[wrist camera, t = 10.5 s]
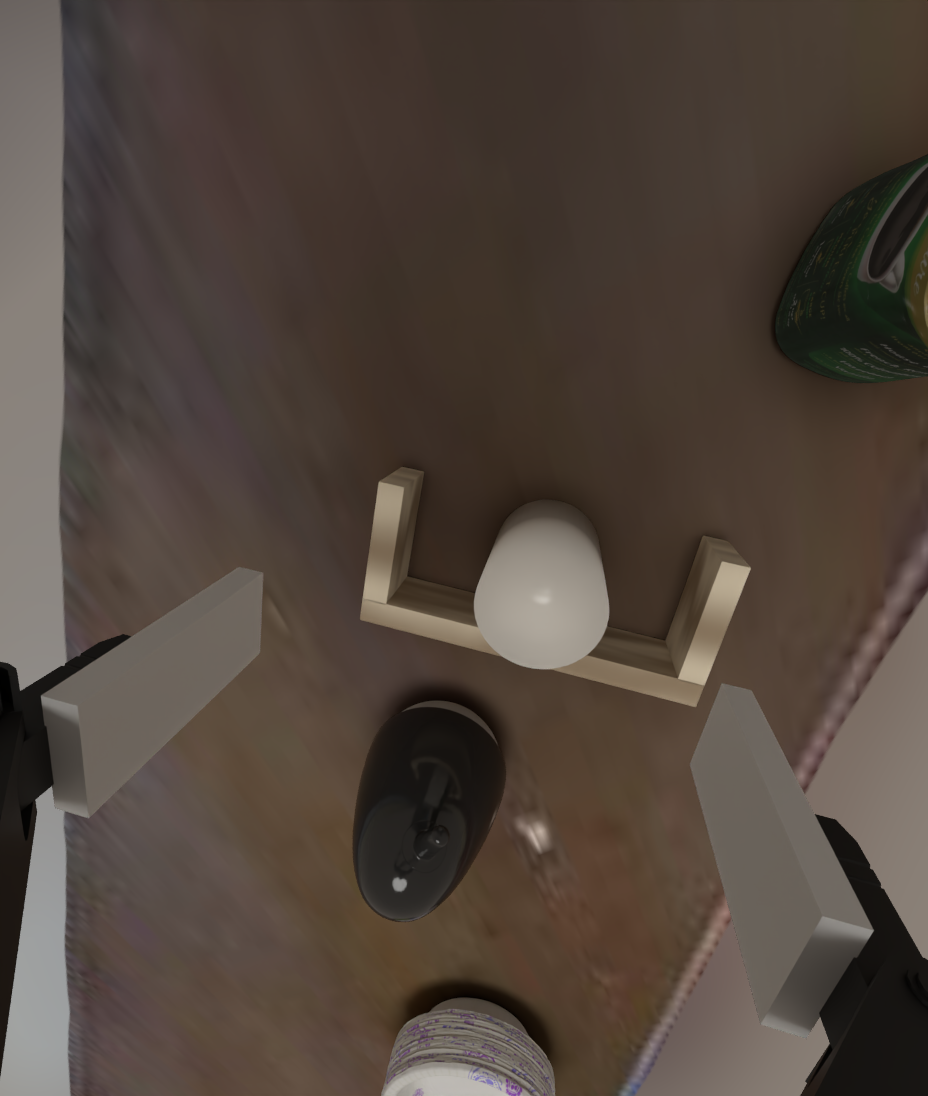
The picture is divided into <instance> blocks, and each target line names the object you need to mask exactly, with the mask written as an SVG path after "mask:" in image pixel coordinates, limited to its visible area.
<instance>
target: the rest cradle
mask: <svg viewBox="0 0 928 1096" xmlns="http://www.w3.org/2000/svg"><path fill="white" fill-rule="evenodd" d="M423 478H424V472H423V471H419V470H415V469H410V468H406V467H401V468H399V469H398V470H396V471H395V472H393V473H391V474H390V475H388V476H387V477H385V478H384V479H382V480H381V481H379V485H378V492H377V499H376V506H375V514H374V521H373V528H372V535H371V543H370V550H369V557H368V564H367V572H366V579H365V586H364V593H363V601H362V608H361V615H360V620H363V621H367V622H371V623H375V624H379V625H383V626H386V627H390V628H394V629H398V630H402V631H406V632H409V633H413V634H417V635H421V636H425V637H429V638H432V639H436V640H440V641H444V642H448V643H452V644H456V645H459V646H463V647H467V648H471V649H475V650H479V651H482V652H486V653H490V654H494V655H498V656H501V655H500V654H498V653H497V652H496V651H495V650H494V649H493V648H492V647H491V646H490V645H489V644H488V643H487V641H486V640H485V639H484V637H483V636H482V634H481V632H480V630H479V628H478V625H477V622H476V619H475V613H474V598H475V593H472V592H468V591H464V590H460V589H456V588H452V587H448V586H444V585H440V584H436V583H432V582H428V581H424V580H420V579H416V578H412V577H408V576H407V574H408V568H409V562H410V556H411V550H412V544H413V538H414V532H415V526H416V520H417V514H418V508H419V502H420V496H421V490H422V484H423ZM750 569H751V567H750V566H749V565H748V564H747V563H746V562H745V560H744V559H743V558H742V557H741V556H740V555H739V553H738V552H737V551H736V550H735V549H734V548H733V546H732V545H731V544H730V543H729V542H728V541H725V540H721V539H717V538H712V537H708V536H704V535H703V536H702V539H701V542H700V545H699V548H698V551H697V553H696V556H695V559H694V562H693V565H692V567H691V570H690V573H689V576H688V579H687V581H686V584H685V587H684V590H683V593H682V595H681V598H680V601H679V604H678V607H677V610H676V612H675V615H674V618H673V621H672V624H671V626H670V629H669V632H668V635H667V638H666V640H661V639H657V638H653V637H649V636H645V635H641V634H637V633H633V632H629V631H625V630H621V629H617V628H613V627H609V626H607V627H606V630H605V632H604V635H603V636H602V638H601V640H600V641H599V643H598V644H597V645H596V647H595V648H594V649H593V650H592V651H591V652H590V653H589V654H587V655H586V656H585V657H583V658H582V659H580V660H578V661H576V662H574V663H572V664H570V665H567V666H563V667H560V668H554V669H552V670H555V671H559V672H563V673H567V674H571V675H575V676H578V677H582V678H586V679H590V680H594V681H598V682H601V683H605V684H609V685H613V686H617V687H621V688H624V689H628V690H632V691H636V692H640V693H644V694H648V695H651V696H655V697H659V698H663V699H667V700H671V701H674V702H678V703H682V704H686V705H690V706H694V707H696V705H697V703H698V700H699V698H700V695H701V693H702V690H703V688H704V685H705V683H706V680H707V678H708V675H709V673H710V670H711V668H712V665H713V663H714V660H715V658H716V655H717V652H718V650H719V647H720V645H721V642H722V640H723V637H724V635H725V632H726V630H727V627H728V625H729V622H730V620H731V617H732V615H733V612H734V610H735V607H736V604H737V602H738V599H739V597H740V594H741V592H742V589H743V587H744V584H745V582H746V579H747V577H748V574H749V572H750Z"/></svg>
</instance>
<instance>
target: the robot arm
mask: <svg viewBox="0 0 928 1096" xmlns="http://www.w3.org/2000/svg"><path fill="white" fill-rule="evenodd" d="M262 591H263V573H262V572H258V571H254V570H250V569H246V568H242V567H238V568H237V569H235V570H234V571H232V572H230V573H229V574H227V575H226V576H224V577H223V578H221V579H220V580H218V581H217V582H215V583H214V584H212V585H210V586H209V587H207V588H206V589H204V590H203V591H201V592H200V593H198V594H197V595H195V596H193V597H192V598H190V599H189V600H187V601H186V602H184V603H183V604H181V605H180V606H178V607H177V608H175V609H173V610H172V611H170V612H169V613H167V614H166V615H164V616H163V617H161V618H160V619H158V620H157V621H155V622H153V623H152V624H150V625H149V626H147V627H146V628H144V629H143V630H141V631H140V632H138V633H137V634H135V635H133V636H128V635H124V634H122V635H120V636H117V637H114V638H111V639H108V640H105V641H102V642H99V643H98V644H96V645H94V646H93V647H91V648H89V649H88V650H86V651H85V652H83V653H81V655H80V657H78V656H76V657H75V658H73V659H72V660H70V661H68V662H67V663H65V666H60V667H59V668H57V669H55V670H54V671H52V672H51V673H49V674H47V675H46V676H44V677H43V678H41V679H39V680H38V681H36V682H34V683H33V684H31V685H30V686H28V687H26V688H25V689H23V690H21V691H20V689H19V682H18V675H17V670H16V668H15V667H13V666H12V665H10V664H8V663H3V662H0V1075H1V1068H2V1060H3V1053H4V1046H5V1039H6V1032H7V1024H8V1017H9V1010H10V1003H11V995H12V989H13V981H14V973H15V967H16V959H17V952H18V945H19V938H20V931H21V924H22V916H23V909H24V902H25V895H26V888H27V881H28V873H29V866H30V859H31V852H32V845H33V837H34V830H35V823H36V816H37V809H36V801H35V799H37V798H38V797H39V796H40V795H41V794H42V793H44V792H45V791H46V790H47V789H48V788H50V787H51V786H52V788H53V796H54V804H55V808H57V809H60V810H63V811H67V812H70V813H73V814H76V815H80V816H83V817H86V818H89V817H91V816H92V815H93V814H94V813H95V812H96V811H97V810H98V809H99V808H100V807H101V806H102V805H103V804H104V803H105V802H106V801H107V800H108V799H109V798H110V797H111V796H112V795H113V794H114V793H115V792H116V791H117V790H118V789H120V788H121V787H122V786H123V785H124V784H125V783H126V782H127V781H128V780H129V779H130V778H131V777H132V776H133V775H134V774H135V773H136V772H137V771H138V770H139V769H140V768H141V767H142V766H143V765H144V764H145V763H146V762H148V761H149V760H150V759H151V758H152V757H153V756H154V755H155V754H156V753H157V752H158V751H159V750H160V749H161V748H162V747H163V746H164V745H165V744H166V743H167V742H168V741H169V740H170V739H171V738H172V737H173V736H174V735H176V734H177V733H178V732H179V731H180V730H181V729H182V728H183V727H184V726H185V725H186V724H187V723H188V722H189V721H190V720H191V719H192V718H193V717H194V716H195V715H196V714H197V713H198V712H199V711H200V710H201V709H202V708H204V707H205V706H206V705H207V704H208V703H209V702H210V701H211V700H212V699H213V698H214V697H215V696H216V695H217V694H218V693H219V692H220V691H221V690H222V689H223V688H224V687H225V686H226V685H227V684H228V683H229V682H230V681H231V680H233V679H234V678H235V677H236V676H237V675H238V674H239V673H240V672H241V671H242V670H243V669H244V668H245V667H246V666H247V665H248V664H249V663H250V662H251V661H252V660H253V659H254V658H255V657H256V656H257V655H258V654H259V653H260V640H261V615H262ZM690 767H691V771H692V774H693V778H694V782H695V785H696V789H697V793H698V796H699V800H700V804H701V807H702V811H703V815H704V818H705V822H706V826H707V829H708V833H709V837H710V840H711V844H712V848H713V852H714V855H715V859H716V863H717V866H718V870H719V874H720V877H721V881H722V885H723V888H724V892H725V896H726V899H727V903H728V907H729V910H730V914H731V918H732V921H733V925H734V929H735V933H736V936H737V940H738V943H739V947H740V951H741V955H742V958H743V962H744V966H745V969H746V973H747V976H748V980H749V984H750V987H751V991H752V995H753V999H754V1002H755V1006H756V1010H757V1013H758V1017H759V1021H760V1024H761V1025H764V1026H767V1027H770V1028H774V1029H777V1030H780V1031H783V1032H787V1033H790V1034H793V1035H796V1036H800V1037H803V1038H807V1036H808V1035H809V1033H810V1032H811V1030H812V1028H813V1027H814V1025H815V1024H816V1022H817V1020H818V1019H819V1017H821V1020H822V1023H823V1026H824V1028H825V1031H826V1034H827V1036H828V1039H829V1042H830V1044H829V1046H828V1047H827V1049H826V1050H825V1052H824V1053H823V1055H822V1056H821V1058H820V1060H819V1061H818V1062H817V1064H816V1066H815V1067H814V1069H813V1070H812V1072H811V1073H810V1075H809V1076H808V1078H807V1079H806V1082H807V1084H806V1086H805V1088H804V1090H803V1092H802V1094H801V1096H928V960H927V959H925V958H923V957H922V956H921V954H920V952H919V950H918V949H917V947H916V945H915V943H914V941H913V940H912V938H911V936H910V934H909V933H908V931H907V929H906V927H905V926H904V924H903V922H902V920H901V918H900V917H899V915H898V913H897V912H896V910H895V908H894V906H893V905H892V903H891V901H890V899H889V897H888V896H887V894H886V892H885V890H884V889H882V888H881V883H880V881H879V880H878V878H877V876H876V874H875V873H874V871H873V870H872V869H870V864H869V862H868V860H867V859H866V857H865V855H864V853H863V852H862V850H861V848H860V846H859V845H858V843H857V842H856V840H855V839H854V838H853V837H852V836H851V835H850V834H849V833H848V832H847V831H846V830H845V829H844V828H843V827H842V826H841V825H840V824H839V823H838V822H837V820H835V819H831V818H827V817H824V816H820V815H816V814H814V812H813V810H812V809H811V806H810V805H809V802H808V800H807V798H806V796H805V794H804V793H803V791H802V789H801V787H800V785H799V783H798V781H797V779H796V777H795V775H794V773H793V771H792V769H791V767H790V765H789V763H788V761H787V759H786V757H785V755H784V753H783V751H782V749H781V747H780V745H779V743H778V742H777V740H776V738H775V736H774V734H773V732H772V730H771V728H770V726H769V724H768V722H767V720H766V718H765V716H764V714H763V712H762V710H761V708H760V706H759V704H758V702H757V700H756V698H755V696H754V694H753V693H752V691H751V690H748V689H744V688H739V687H735V686H731V685H727V684H723V683H722V684H721V686H720V689H719V692H718V694H717V697H716V699H715V702H714V704H713V707H712V709H711V712H710V714H709V717H708V719H707V722H706V725H705V727H704V730H703V732H702V735H701V737H700V740H699V742H698V745H697V747H696V750H695V752H694V755H693V758H692V760H691V763H690Z"/></svg>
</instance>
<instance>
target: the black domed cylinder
mask: <svg viewBox="0 0 928 1096" xmlns="http://www.w3.org/2000/svg"><path fill="white" fill-rule="evenodd" d="M505 781H506V767H505V762H504V758H503V755H502V753H501V751H500V749H499V747H498V744H497V741H496V739H495V737H494V735H493V733H492V731H491V730H490V728H489V727H488V726H487V724H486V723H485V722H484V721H483V720H482V719H481V718H480V717H479V716H478V715H476V714H475V713H474V712H472V711H471V710H469V709H467V708H465V707H463V706H461V705H459V704H456V703H452V702H447V701H427V702H422V703H418V704H416V705H413V706H411V707H409V708H407V709H405V710H404V711H402V712H401V713H398V714H397V715H395V716H393V717H392V718H390V719H389V720H388V721H387V722H386V723H385V724H384V725H383V726H382V727H381V728H380V729H379V731H378V732H377V734H376V736H375V738H374V740H373V742H372V744H371V746H370V749H369V752H368V755H367V758H366V761H365V765H364V768H363V772H362V775H361V779H360V784H359V789H358V794H357V800H356V807H355V815H354V825H353V843H352V845H353V864H354V871H355V876H356V880H357V884H358V887H359V890H360V893H361V895H362V897H363V899H364V900H365V902H366V903H367V905H368V906H369V907H370V908H371V909H372V910H373V911H374V912H375V913H377V914H378V915H380V916H381V917H383V918H385V919H388V920H391V921H395V922H410V921H414V920H417V919H420V918H422V917H424V916H426V915H427V914H429V913H430V912H432V911H433V910H434V909H436V908H437V907H438V906H439V905H440V904H442V903H443V902H444V901H445V900H446V899H447V898H448V897H449V896H450V894H451V893H452V892H453V891H454V890H455V889H456V887H457V886H458V885H459V883H460V882H461V881H462V879H463V878H464V876H465V875H466V873H467V872H468V870H469V868H470V867H471V865H472V863H473V862H474V860H475V858H476V857H477V855H478V853H479V851H480V849H481V848H482V846H483V844H484V842H485V840H486V838H487V836H488V834H489V832H490V829H491V827H492V825H493V822H494V820H495V817H496V814H497V812H498V809H499V806H500V803H501V800H502V797H503V793H504V788H505Z"/></svg>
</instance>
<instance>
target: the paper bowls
mask: <svg viewBox="0 0 928 1096" xmlns="http://www.w3.org/2000/svg"><path fill="white" fill-rule="evenodd" d="M554 1086H555V1080H554V1073H553V1069H552V1066H551V1064H550V1062H549V1060H548V1059H547V1056H546V1055H545V1053H544V1052H543V1051H542V1050H541V1048H540V1047H539V1046H538V1045H537V1044H536V1043H535V1041H533V1040H532V1039H531V1038H530V1037H529V1036H528V1033H527V1032H526V1030H525V1028H524V1027H523V1025H522V1024H521V1023H520V1022H519V1021H518V1019H517V1018H516V1017H515V1016H513V1015H512V1014H511V1013H510V1012H508V1011H507V1010H505V1009H504V1008H502V1007H500V1006H498V1005H496V1004H494V1003H492V1002H489V1001H486V1000H482V999H477V998H454V999H450V1000H447V1001H444V1002H442V1003H440V1004H438V1005H436V1006H435V1007H434V1008H433V1009H432V1010H431V1011H430V1012H429V1013H424V1014H421V1015H418V1016H417V1017H415V1018H413V1019H411V1020H410V1021H408V1022H407V1023H406V1024H405V1025H404V1026H403V1028H402V1029H401V1030H400V1032H399V1033H398V1035H397V1038H396V1041H395V1044H394V1047H393V1050H392V1054H391V1059H390V1062H389V1066H388V1070H387V1075H386V1080H385V1084H384V1087H383V1091H382V1095H381V1096H555V1087H554Z"/></svg>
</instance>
